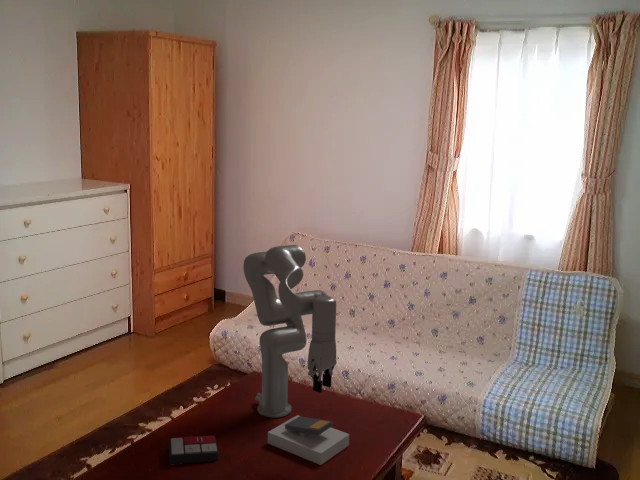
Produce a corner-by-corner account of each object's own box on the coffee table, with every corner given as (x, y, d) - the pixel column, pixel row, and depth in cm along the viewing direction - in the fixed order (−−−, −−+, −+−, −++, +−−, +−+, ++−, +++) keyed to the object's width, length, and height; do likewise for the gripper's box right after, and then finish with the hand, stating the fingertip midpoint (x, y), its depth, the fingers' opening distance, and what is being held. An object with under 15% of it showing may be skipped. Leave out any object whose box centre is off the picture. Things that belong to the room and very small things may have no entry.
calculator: (219, 450, 200) (170, 453, 196) (218, 463, 201) (169, 466, 197) (215, 433, 210) (169, 436, 207) (215, 445, 211) (168, 448, 207)
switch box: (267, 443, 212) (267, 427, 211) (297, 425, 225) (297, 411, 224) (320, 465, 199) (321, 449, 198) (348, 445, 212) (349, 430, 211)
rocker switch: (285, 429, 212) (284, 424, 212) (300, 420, 218) (299, 415, 218) (318, 435, 203) (318, 429, 203) (333, 425, 210) (332, 420, 210)
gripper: (329, 326, 211) (327, 378, 214) (297, 339, 197) (296, 394, 201) (348, 331, 206) (346, 383, 210) (317, 344, 193) (315, 400, 196)
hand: (322, 388), depth 205 cm, fingers open, 4 cm apart
